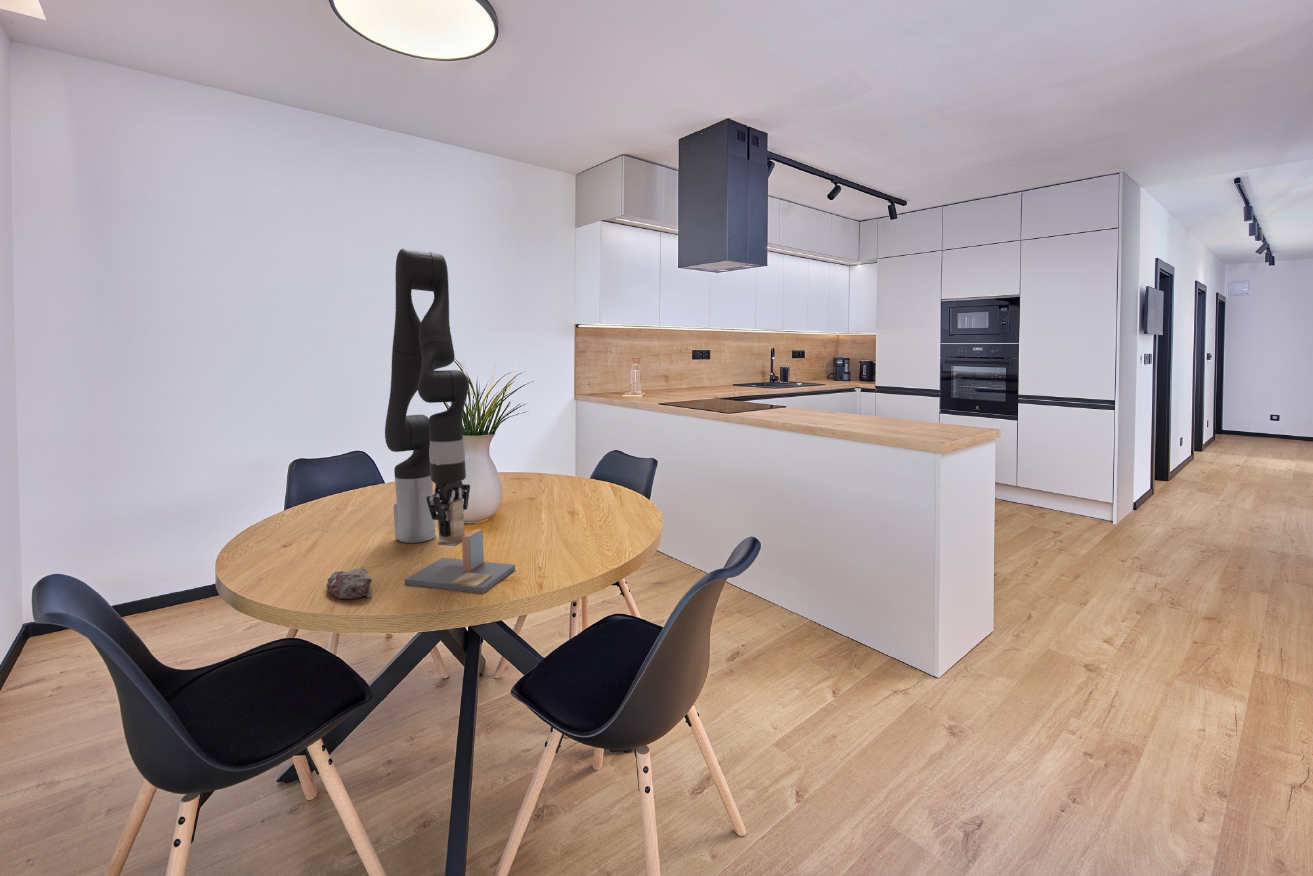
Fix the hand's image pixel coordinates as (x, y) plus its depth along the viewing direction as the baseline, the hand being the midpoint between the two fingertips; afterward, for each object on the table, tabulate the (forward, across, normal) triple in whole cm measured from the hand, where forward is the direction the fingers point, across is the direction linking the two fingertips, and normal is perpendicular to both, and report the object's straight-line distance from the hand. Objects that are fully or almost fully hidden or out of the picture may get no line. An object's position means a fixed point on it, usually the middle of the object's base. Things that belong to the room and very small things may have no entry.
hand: (451, 532), depth 137 cm
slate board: (+9, +3, +4) cm, 10 cm away
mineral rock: (+9, +16, -14) cm, 23 cm away
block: (+2, 0, 0) cm, 2 cm away
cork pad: (+8, +7, +9) cm, 14 cm away
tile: (+8, 0, +5) cm, 9 cm away
